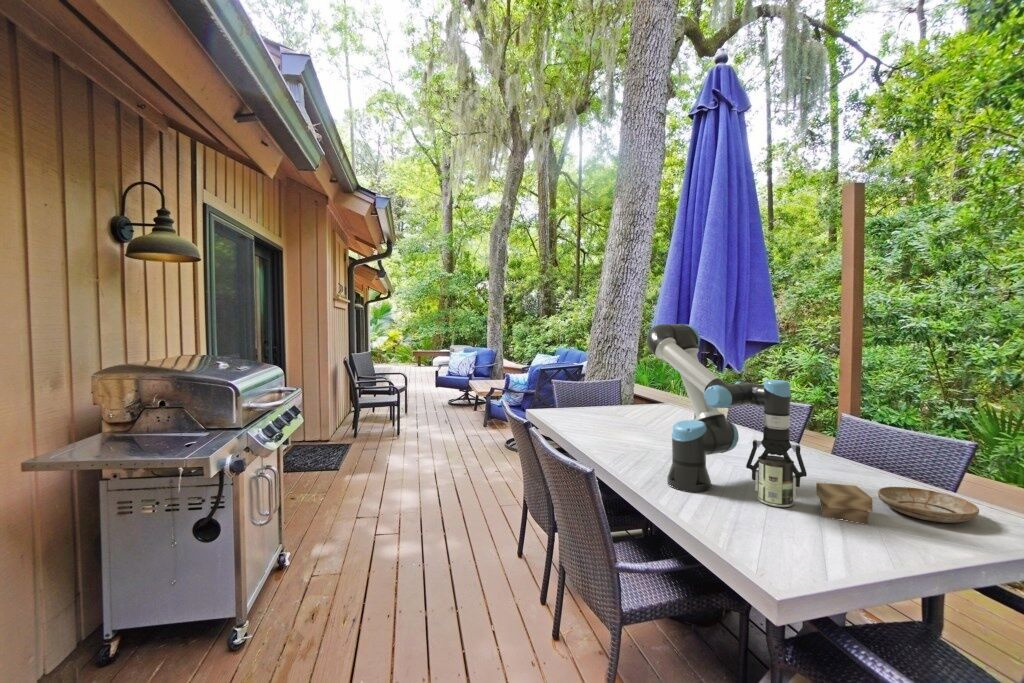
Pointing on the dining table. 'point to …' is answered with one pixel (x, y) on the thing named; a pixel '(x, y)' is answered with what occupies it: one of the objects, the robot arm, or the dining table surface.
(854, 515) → the lower block
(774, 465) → the coffee can
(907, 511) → the wooden bowl
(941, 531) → the dining table surface
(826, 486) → the top block
